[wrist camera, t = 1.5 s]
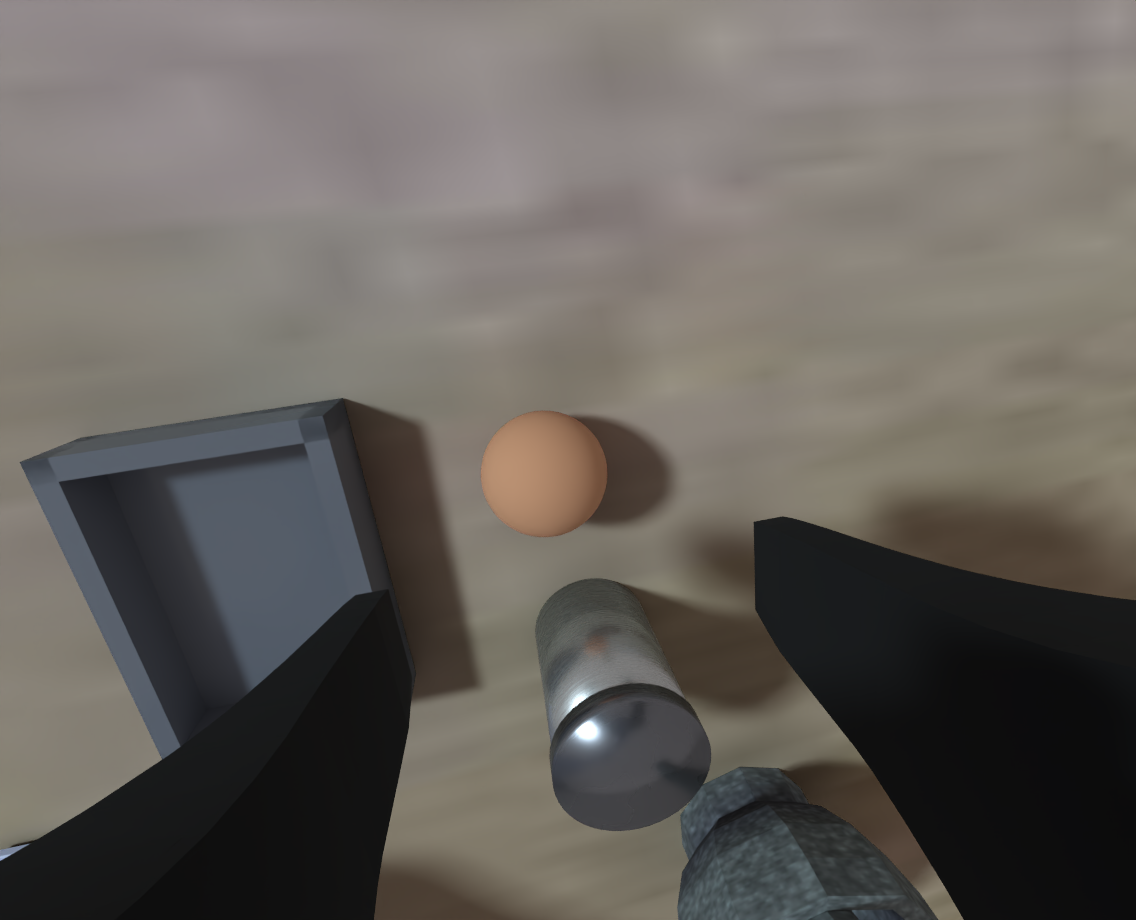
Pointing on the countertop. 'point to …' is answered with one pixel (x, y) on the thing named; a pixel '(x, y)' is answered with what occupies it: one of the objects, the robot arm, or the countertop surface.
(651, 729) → the shaker
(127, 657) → the dish
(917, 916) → the mortar and pestle
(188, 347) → the countertop surface
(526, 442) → the ball
